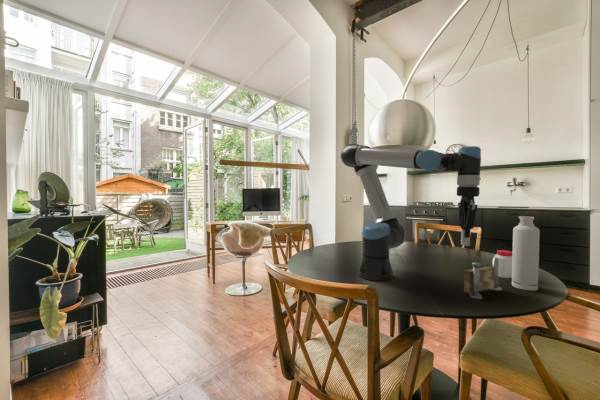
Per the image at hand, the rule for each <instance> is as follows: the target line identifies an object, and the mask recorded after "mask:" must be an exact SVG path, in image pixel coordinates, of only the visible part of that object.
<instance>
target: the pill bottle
mask: <svg viewBox="0 0 600 400" xmlns="http://www.w3.org/2000/svg"><path fill="white" fill-rule="evenodd" d="M493 258H498V259H499V274H498V278H504V279H512V251H511V250H505V249H504V250H503V249H499V250H498V249H497V250H496V254H494V255H493Z"/></svg>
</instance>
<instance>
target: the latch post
mask: <svg viewBox="0 0 600 400" xmlns="http://www.w3.org/2000/svg"><path fill="white" fill-rule="evenodd" d="M481 265H482V264H481V262H477V261H472V262H471V266H472V269H473V290H472V293H468V295H469V297H470V298H472V299H477V300H483V296H482V294H481V293H480V291H479V273H480V268H482V267H481Z"/></svg>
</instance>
